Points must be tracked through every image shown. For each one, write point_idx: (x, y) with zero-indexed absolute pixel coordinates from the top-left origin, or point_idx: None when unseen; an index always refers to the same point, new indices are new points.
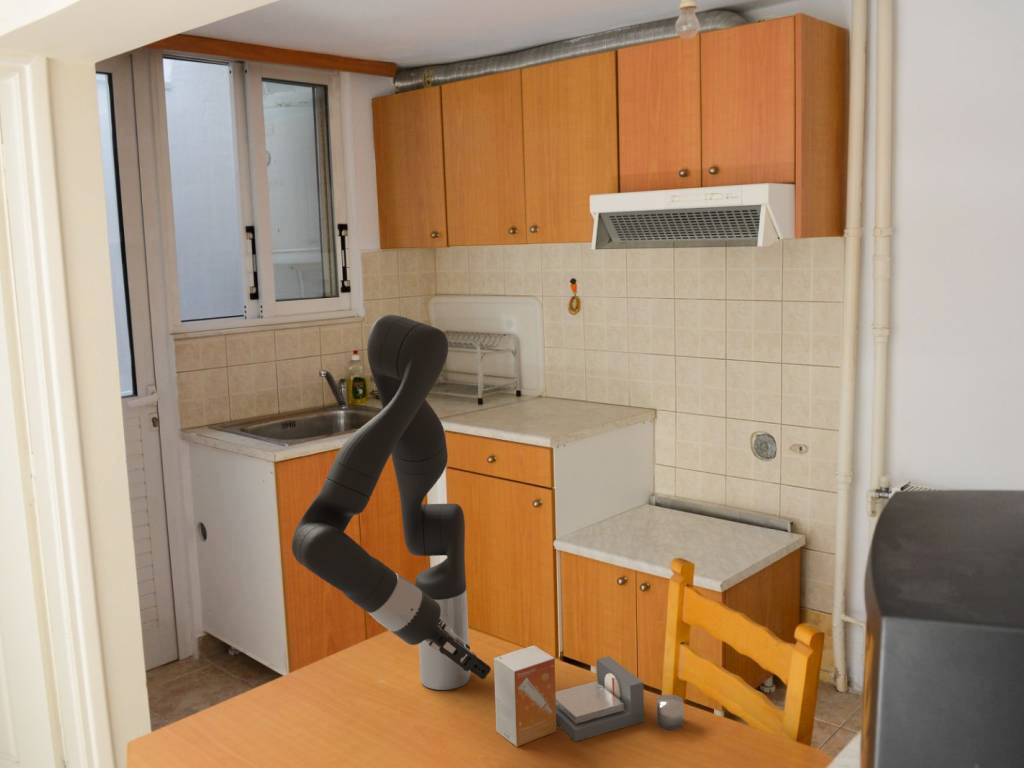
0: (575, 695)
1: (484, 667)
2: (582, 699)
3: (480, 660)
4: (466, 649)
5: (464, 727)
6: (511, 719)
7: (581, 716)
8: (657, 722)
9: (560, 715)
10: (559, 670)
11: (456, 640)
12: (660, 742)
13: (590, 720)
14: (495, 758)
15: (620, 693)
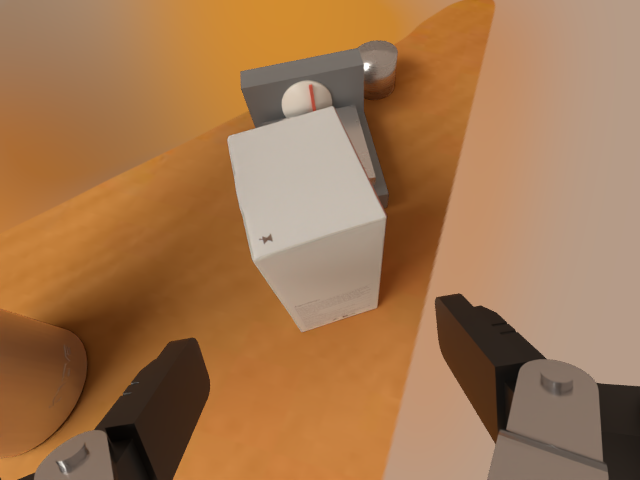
0: None
1: (509, 326)
2: None
3: (498, 334)
4: None
5: (254, 399)
6: (362, 295)
7: (372, 169)
8: (374, 96)
9: None
10: (150, 174)
11: (156, 416)
12: (422, 106)
13: None
14: (406, 363)
15: (331, 98)
